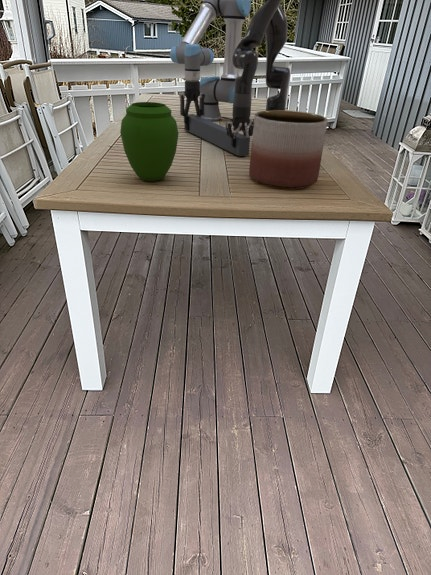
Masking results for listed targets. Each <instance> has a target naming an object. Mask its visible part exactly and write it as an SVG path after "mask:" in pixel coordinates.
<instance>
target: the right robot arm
mask: <svg viewBox="0 0 431 575" xmlns="http://www.w3.org/2000/svg"><path fill="white" fill-rule="evenodd" d="M282 1H283V0H263V4H262V6H260V7H259V8H258V9H257V10H256V11H255V13H254V14H253V15H252V17H251V19H250V21H249V24H248V26H247V29H246V31H245V34H244V35H243V37H241V41H240V43H239V44H238V46H237V47H236V49H235V51H234V53H233V57H232V62H233V65H234V67H236V68H238V69H239V70H242V73H241V75H239V76H238V77H237V78H236V79H235V89H234V98H233V103H232V114H231V115H232V118H231V119H232V120H231V121H229V122H225V127H226V131H227V136H228V137H230V138H231V146H232V147H233V148H235V147H236V136H237V134H238V133H240V132H242V134H243V135H245V136H247V137H250V138H251V137H253V127H254V121H250V120H251V119H250V118H251V110H252V92H253V90H252V89H253V81H254V78H255V75H256V72H257V69H258V65H259V56H258V54H257V51H255V50H254V48H258V47H259V46H261V44H262V42H263V40H264V39H265V52H266V53H265V55H266V56H265V57H266V58H265V84H266V87H267V88H268V89H275V90H279V92H278V93H277V94H275V95H274V94H273V95H271V96H268V97H267V98H266V105H265V111H268V110H286V104H287V99H288V91H289V87H290V86H289V85H290V80H291V69H290V67H288V66H276V65H275V61H276V60H277V57H278V56H279V54H280V52H281V51H282V49H283V48H284V46H285V45H286V43H287V40H288V19H287V15H286V14H285V12H284V10H283V8H282V6H281V3H282ZM264 37H265V38H264Z"/></svg>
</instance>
